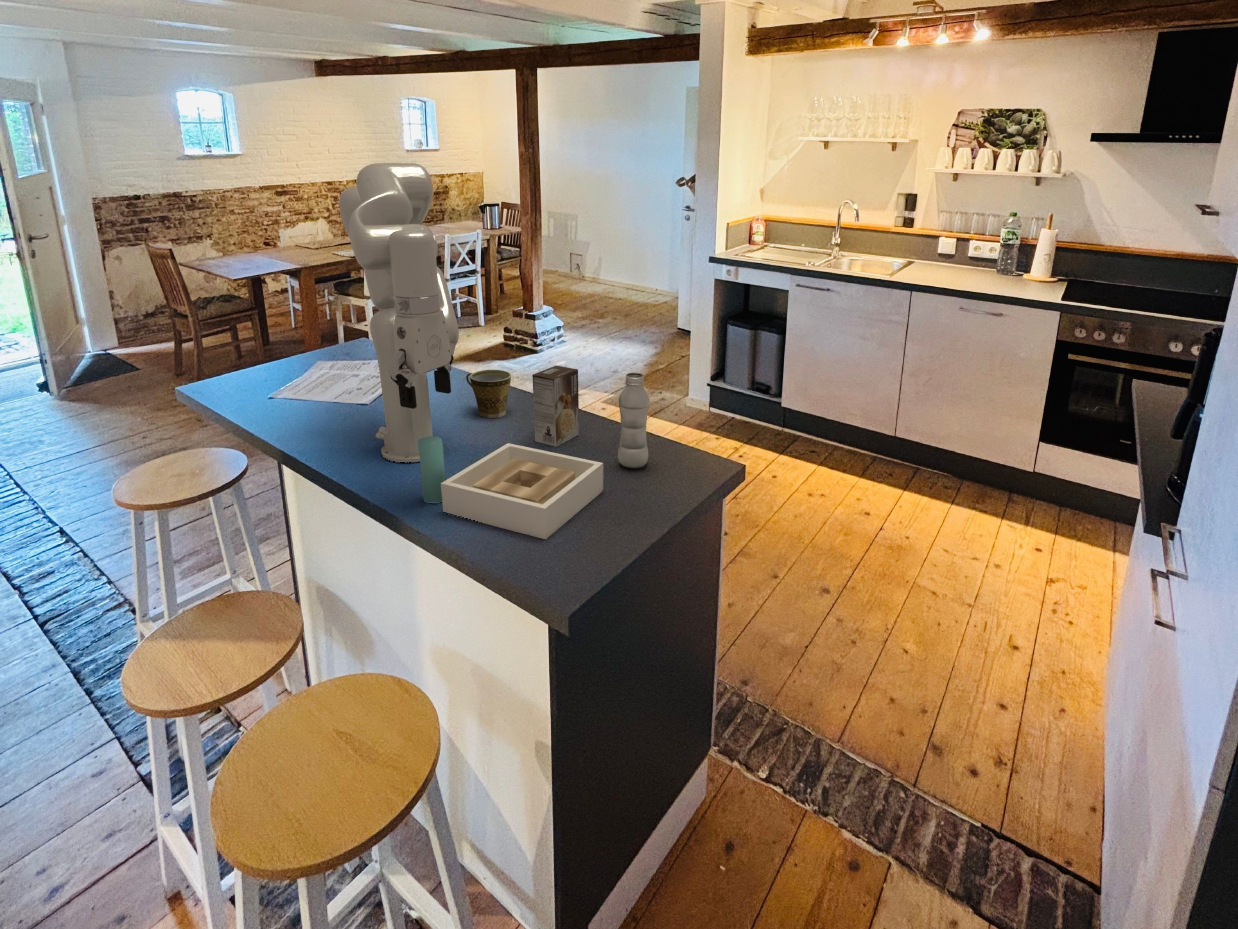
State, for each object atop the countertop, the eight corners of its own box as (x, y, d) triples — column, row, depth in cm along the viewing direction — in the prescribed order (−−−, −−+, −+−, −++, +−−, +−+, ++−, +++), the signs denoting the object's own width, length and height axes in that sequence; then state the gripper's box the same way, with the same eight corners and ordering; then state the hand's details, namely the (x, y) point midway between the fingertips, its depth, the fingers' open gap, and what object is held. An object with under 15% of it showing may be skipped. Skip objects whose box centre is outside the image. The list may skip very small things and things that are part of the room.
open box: (443, 512, 141) (440, 483, 139) (509, 469, 159) (507, 443, 157) (545, 539, 132) (545, 508, 130) (603, 490, 151) (603, 463, 148)
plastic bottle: (626, 474, 158) (628, 381, 150) (612, 462, 164) (613, 372, 156) (653, 468, 161) (657, 377, 153) (638, 457, 166) (640, 368, 158)
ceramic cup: (520, 412, 192) (519, 373, 188) (494, 423, 184) (492, 384, 180) (481, 402, 198) (479, 365, 194) (454, 413, 190) (451, 374, 186)
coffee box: (557, 429, 181) (556, 364, 174) (579, 435, 178) (579, 368, 171) (533, 441, 174) (531, 373, 167) (556, 447, 171) (555, 378, 164)
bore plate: (473, 504, 142) (472, 485, 141) (514, 477, 154) (513, 458, 152) (537, 520, 137) (537, 500, 135) (575, 490, 149) (575, 472, 147)
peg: (418, 500, 145) (412, 442, 141) (433, 492, 149) (428, 434, 144) (437, 505, 144) (431, 446, 139) (451, 496, 147) (446, 438, 142)
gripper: (401, 316, 123) (411, 416, 129) (465, 298, 137) (472, 389, 144) (365, 311, 126) (377, 410, 132) (432, 294, 140) (439, 384, 147)
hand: (426, 399), depth 138 cm, fingers open, 9 cm apart
